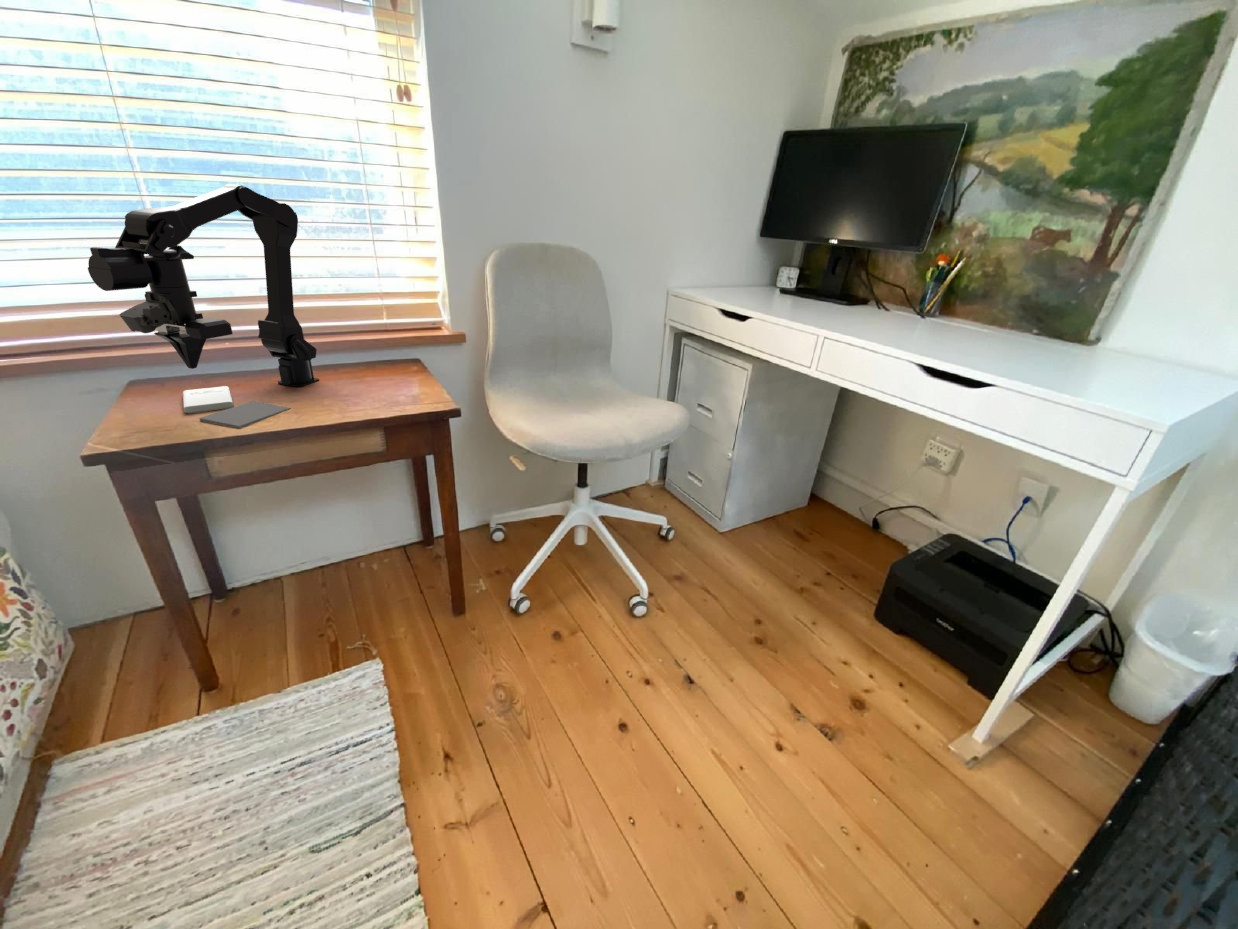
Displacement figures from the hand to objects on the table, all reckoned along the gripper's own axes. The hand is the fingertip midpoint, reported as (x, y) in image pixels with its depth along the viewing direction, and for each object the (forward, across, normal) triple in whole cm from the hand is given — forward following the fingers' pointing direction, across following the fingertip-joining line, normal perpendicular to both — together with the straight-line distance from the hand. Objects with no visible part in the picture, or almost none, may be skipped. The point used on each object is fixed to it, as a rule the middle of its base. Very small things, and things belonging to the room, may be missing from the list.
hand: (192, 368), depth 105 cm
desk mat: (+10, +8, +3) cm, 13 cm away
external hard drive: (+9, 0, +1) cm, 9 cm away
